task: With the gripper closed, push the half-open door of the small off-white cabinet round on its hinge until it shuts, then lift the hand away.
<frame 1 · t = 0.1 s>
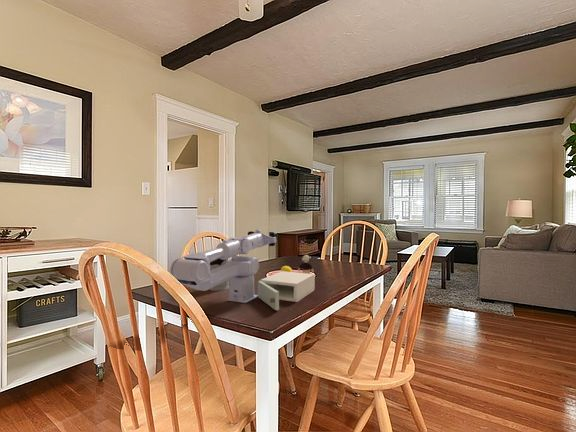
hand: (269, 235, 135), 22 cm above the table, tool horizontal, fingers open, 7 cm apart
lemon: (286, 277, 155), on the table
door: (266, 294, 111), point 3 cm above the table, hinge at -40.0°
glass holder: (212, 288, 134), on the table
grandmother figurine: (305, 283, 141), on the table
cabinet: (288, 293, 125), on the table
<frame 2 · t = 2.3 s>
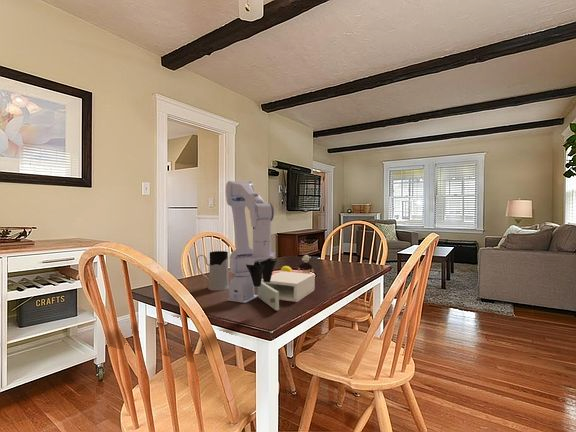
hand: (262, 284, 101), 9 cm above the table, tool pointing down, fingers open, 6 cm apart
nothing on the table moved.
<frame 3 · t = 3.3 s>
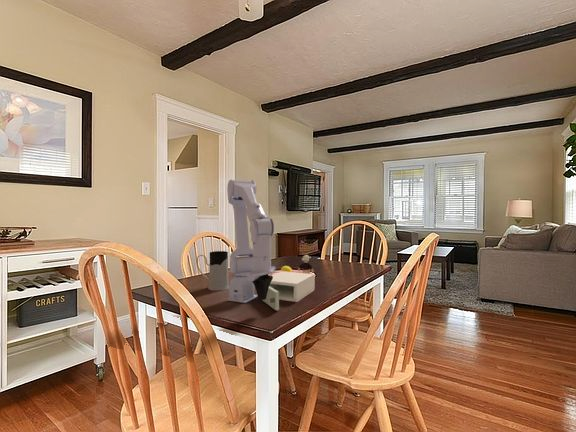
hand: (262, 299, 101), 5 cm above the table, tool pointing down, fingers closed
nothing on the table moved.
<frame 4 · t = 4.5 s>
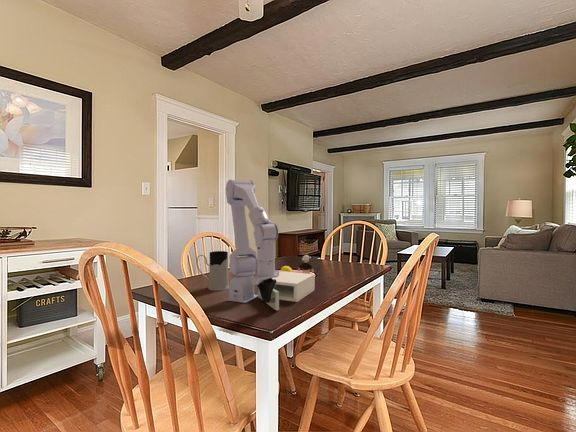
hand: (266, 302, 104), 3 cm above the table, tool pointing down, fingers closed
door: (266, 294, 111), point 3 cm above the table, hinge at -40.0°, touching gripper
everything else where it was.
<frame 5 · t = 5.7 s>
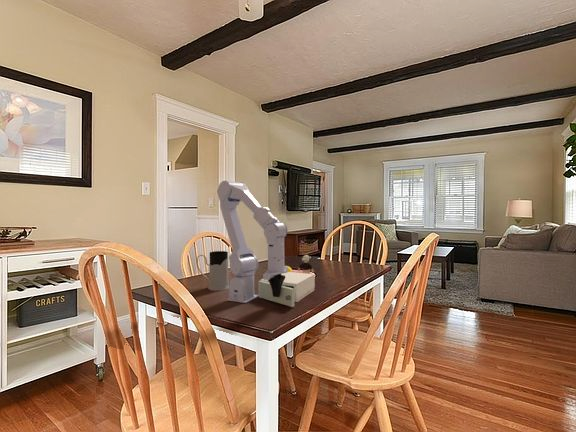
hand: (276, 296, 110), 3 cm above the table, tool pointing down, fingers closed
door: (274, 293, 112), point 3 cm above the table, hinge at -18.9°, touching gripper
everything else where it was.
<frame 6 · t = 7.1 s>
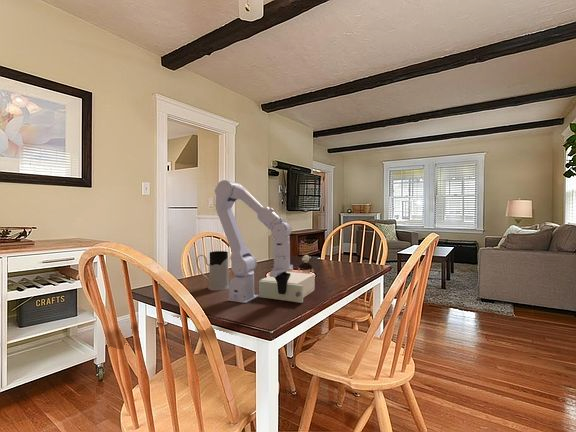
hand: (282, 293, 114), 3 cm above the table, tool pointing down, fingers closed, pressing on door
door: (279, 291, 115), point 3 cm above the table, hinge at 0.3°, touching gripper
everything else where it was.
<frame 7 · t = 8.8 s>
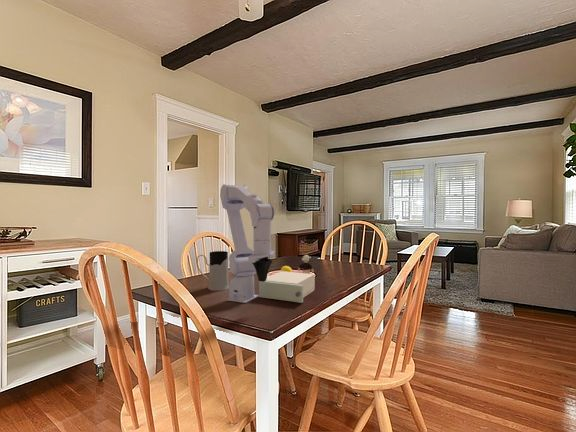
hand: (262, 281, 105), 9 cm above the table, tool pointing down, fingers closed
door: (279, 291, 115), point 3 cm above the table, hinge at 0.4°
everything else where it was.
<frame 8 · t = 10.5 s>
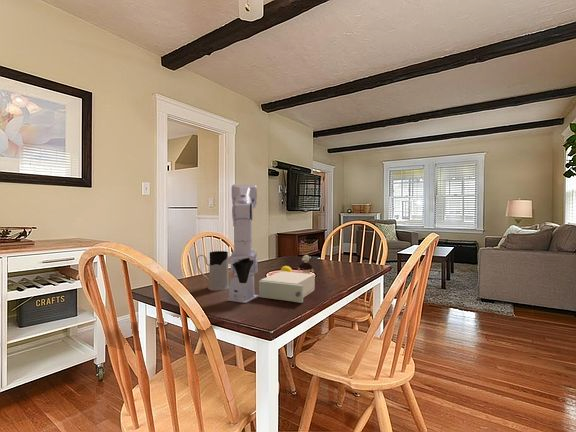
hand: (243, 282, 103), 9 cm above the table, tool pointing down, fingers closed
nothing on the table moved.
at the end: door at +0° (first picture: -40°) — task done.
